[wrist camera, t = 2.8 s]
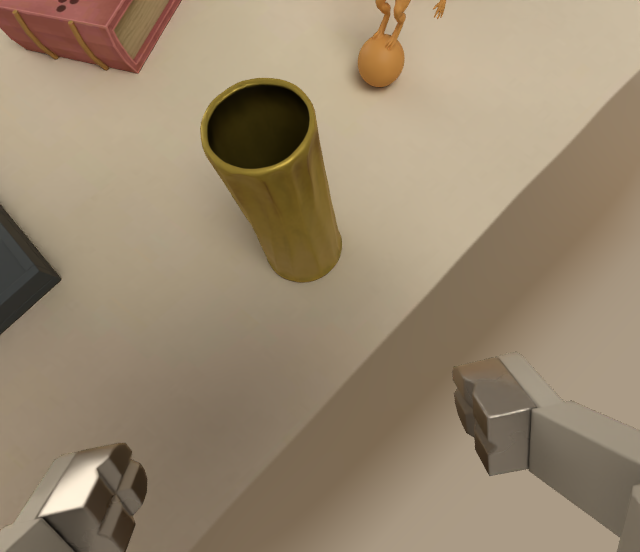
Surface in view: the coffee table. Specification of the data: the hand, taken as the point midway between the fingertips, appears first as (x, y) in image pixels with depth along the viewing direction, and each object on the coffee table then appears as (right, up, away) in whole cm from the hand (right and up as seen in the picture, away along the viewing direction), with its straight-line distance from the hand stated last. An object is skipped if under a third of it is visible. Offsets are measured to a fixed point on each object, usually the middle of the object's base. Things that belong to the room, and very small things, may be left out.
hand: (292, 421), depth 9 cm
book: (-22, +32, +32) cm, 50 cm away
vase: (-1, +6, +21) cm, 22 cm away
